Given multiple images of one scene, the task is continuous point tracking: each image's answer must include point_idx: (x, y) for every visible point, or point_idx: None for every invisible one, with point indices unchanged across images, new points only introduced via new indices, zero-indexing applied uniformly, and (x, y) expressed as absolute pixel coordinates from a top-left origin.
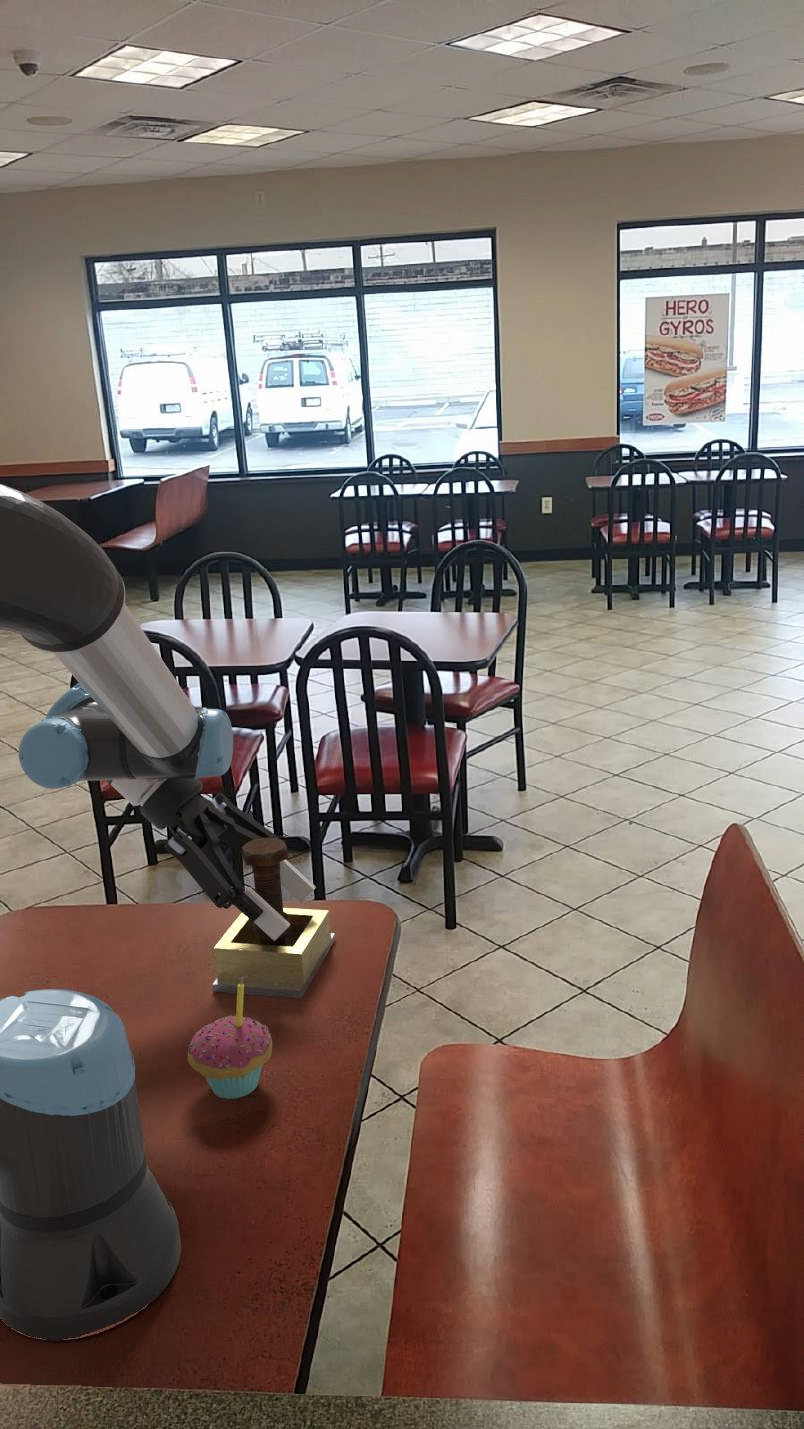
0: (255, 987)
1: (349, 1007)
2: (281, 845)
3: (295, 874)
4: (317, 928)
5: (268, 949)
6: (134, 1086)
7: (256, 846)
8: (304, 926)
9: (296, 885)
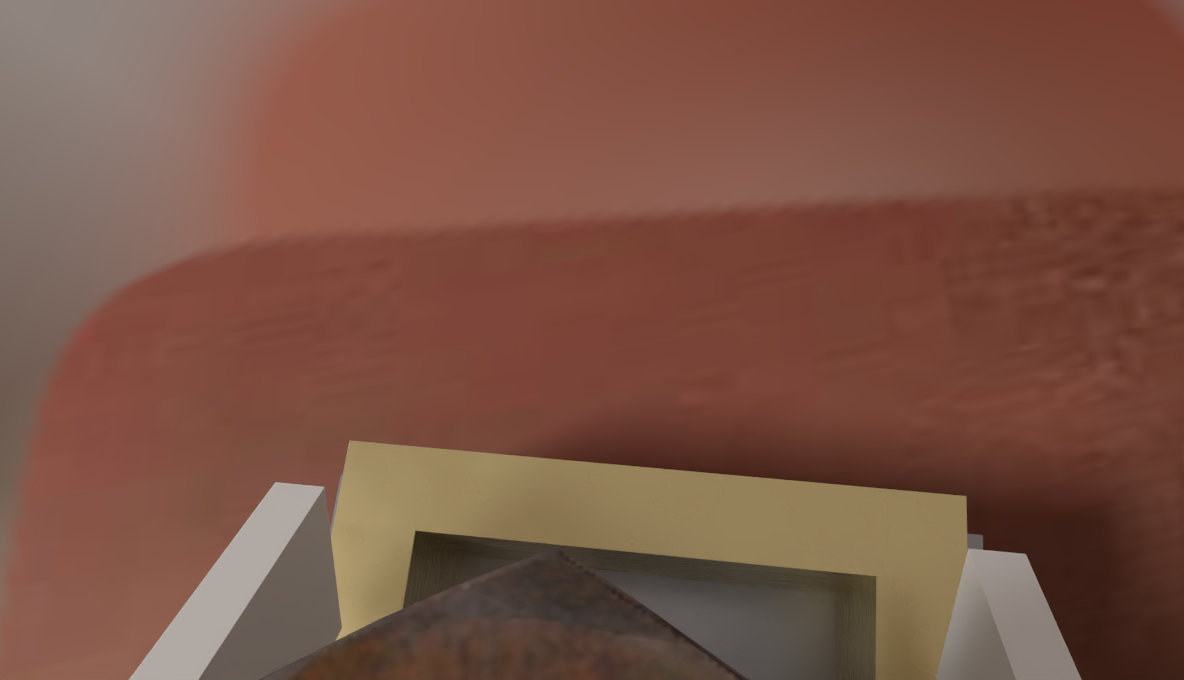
0: None
1: (1005, 285)
2: (489, 676)
3: (233, 645)
4: (604, 464)
5: None
6: None
7: None
8: None
9: (278, 650)
